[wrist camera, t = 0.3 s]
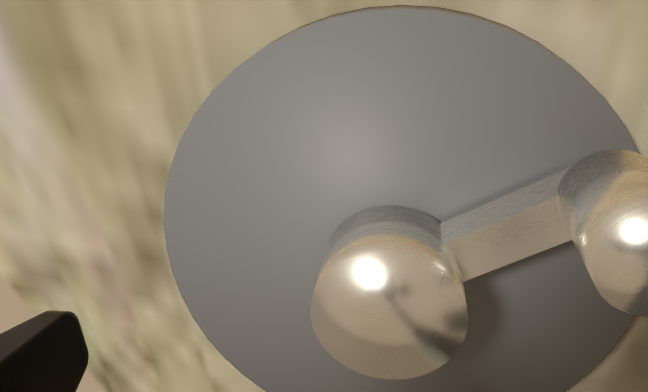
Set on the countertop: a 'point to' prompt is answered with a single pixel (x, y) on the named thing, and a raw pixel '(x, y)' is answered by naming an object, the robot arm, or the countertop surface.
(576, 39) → the countertop surface
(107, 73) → the countertop surface
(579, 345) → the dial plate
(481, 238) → the silver dumbbell
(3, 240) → the countertop surface
